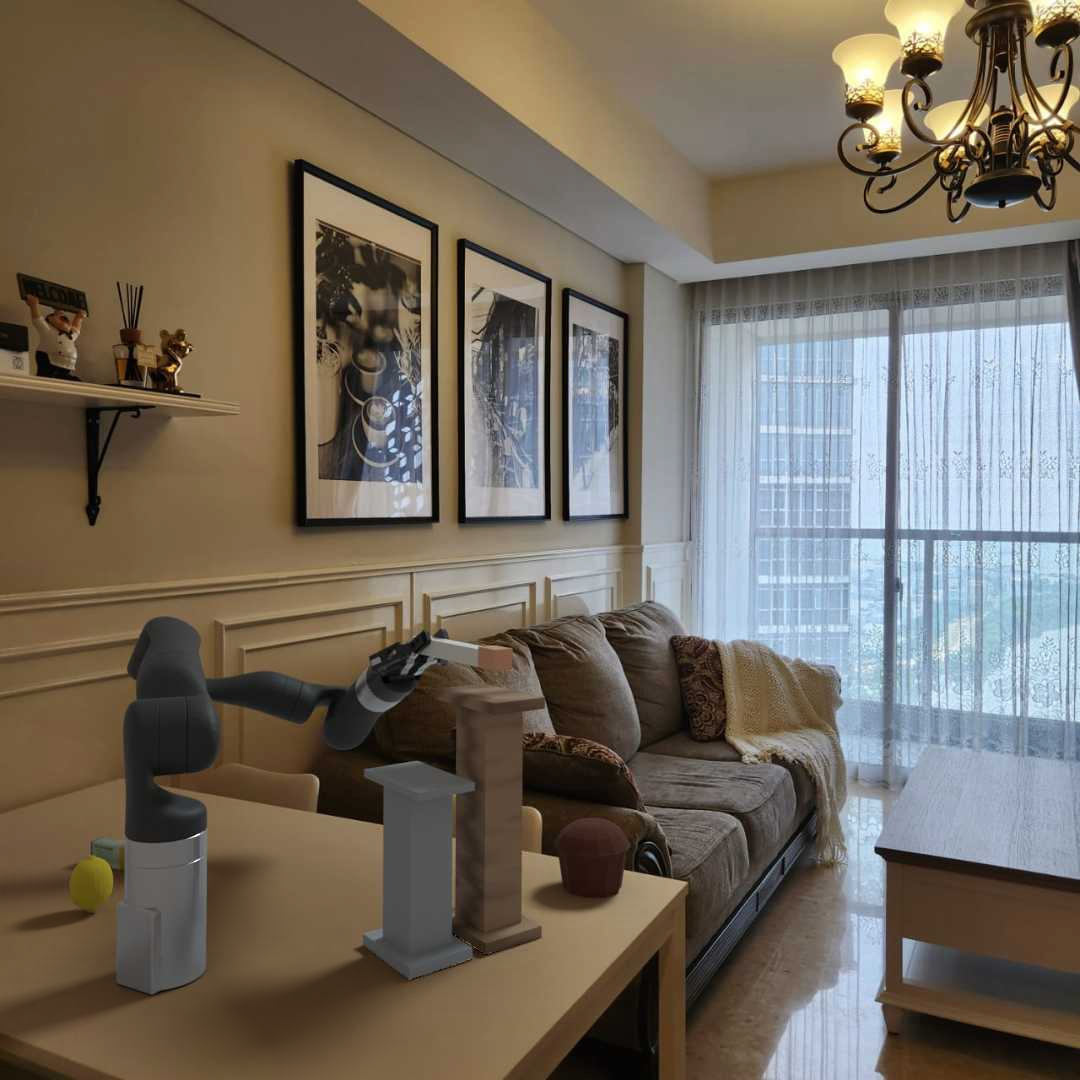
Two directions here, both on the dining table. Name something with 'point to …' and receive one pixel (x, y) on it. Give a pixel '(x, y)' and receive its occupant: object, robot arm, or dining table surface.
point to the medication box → (109, 851)
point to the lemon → (91, 883)
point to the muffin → (592, 857)
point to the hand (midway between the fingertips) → (436, 635)
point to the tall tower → (490, 816)
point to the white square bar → (470, 654)
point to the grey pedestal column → (417, 869)
